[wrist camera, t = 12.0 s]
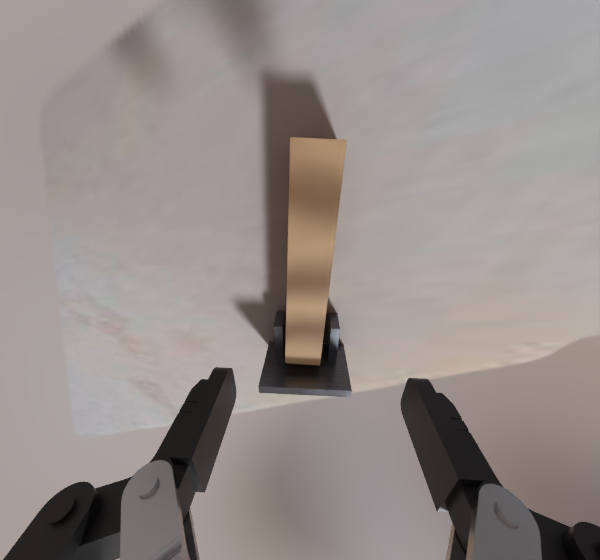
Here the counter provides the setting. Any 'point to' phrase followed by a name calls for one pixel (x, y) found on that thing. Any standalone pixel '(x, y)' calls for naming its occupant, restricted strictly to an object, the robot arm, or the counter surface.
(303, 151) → the rail
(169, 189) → the counter surface
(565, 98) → the counter surface
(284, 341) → the cup bracket
